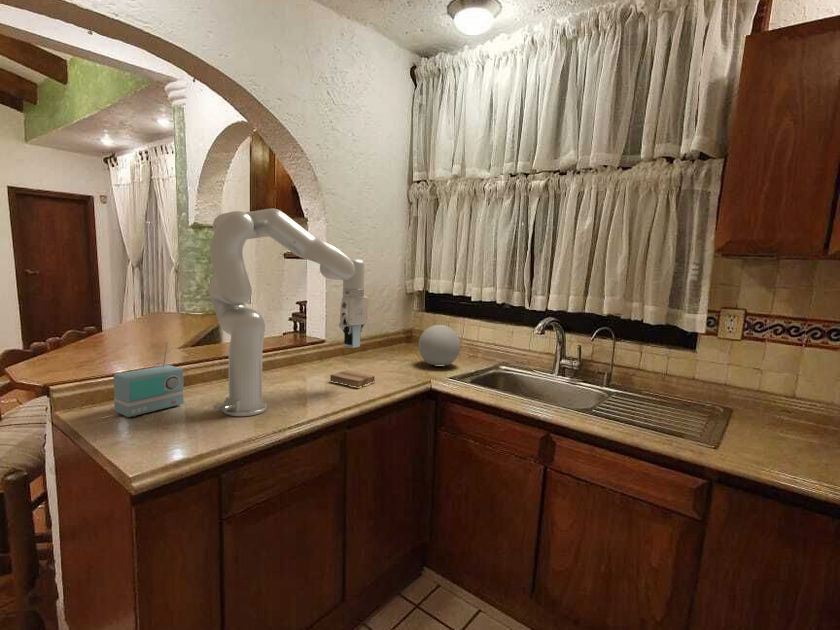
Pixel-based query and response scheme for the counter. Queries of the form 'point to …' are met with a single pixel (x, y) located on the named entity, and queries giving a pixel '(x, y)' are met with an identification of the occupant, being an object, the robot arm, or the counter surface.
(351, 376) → the brown box
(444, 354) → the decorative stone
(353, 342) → the block
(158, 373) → the radio
